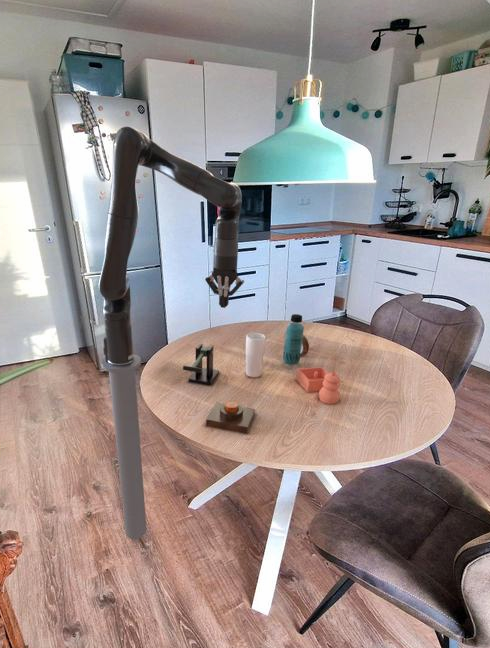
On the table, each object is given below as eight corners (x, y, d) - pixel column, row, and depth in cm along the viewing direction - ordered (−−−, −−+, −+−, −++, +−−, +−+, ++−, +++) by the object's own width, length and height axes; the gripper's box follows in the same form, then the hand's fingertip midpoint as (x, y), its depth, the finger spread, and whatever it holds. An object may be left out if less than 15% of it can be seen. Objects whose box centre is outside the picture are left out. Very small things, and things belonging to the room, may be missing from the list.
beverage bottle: (279, 362, 150) (284, 313, 142) (294, 360, 152) (299, 311, 144) (287, 369, 144) (293, 318, 136) (302, 367, 147) (309, 317, 138)
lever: (200, 375, 122) (200, 368, 120) (182, 372, 123) (182, 365, 122) (214, 353, 133) (214, 347, 132) (197, 351, 135) (197, 345, 134)
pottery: (296, 379, 137) (299, 354, 133) (320, 377, 140) (324, 352, 135) (319, 405, 122) (324, 378, 117) (346, 402, 124) (351, 375, 120)
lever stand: (210, 385, 131) (211, 354, 126) (188, 382, 133) (188, 350, 128) (219, 373, 140) (220, 343, 135) (198, 369, 142) (198, 340, 137)
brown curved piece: (308, 357, 155) (310, 338, 151) (301, 358, 154) (304, 339, 150) (289, 344, 167) (291, 325, 164) (282, 344, 166) (284, 326, 163)
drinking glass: (257, 369, 144) (260, 331, 137) (265, 377, 138) (269, 338, 132) (240, 371, 142) (243, 333, 135) (248, 380, 136) (251, 340, 129)
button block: (206, 425, 110) (206, 414, 108) (216, 408, 118) (216, 396, 117) (247, 433, 107) (248, 421, 105) (254, 415, 116) (255, 403, 114)
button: (223, 411, 110) (224, 406, 109) (227, 405, 113) (227, 400, 112) (236, 414, 109) (236, 408, 108) (239, 407, 112) (239, 402, 112)
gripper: (249, 253, 122) (245, 306, 129) (209, 249, 125) (208, 301, 132) (243, 257, 115) (239, 312, 123) (201, 253, 119) (200, 307, 126)
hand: (223, 306), depth 127 cm, fingers closed
